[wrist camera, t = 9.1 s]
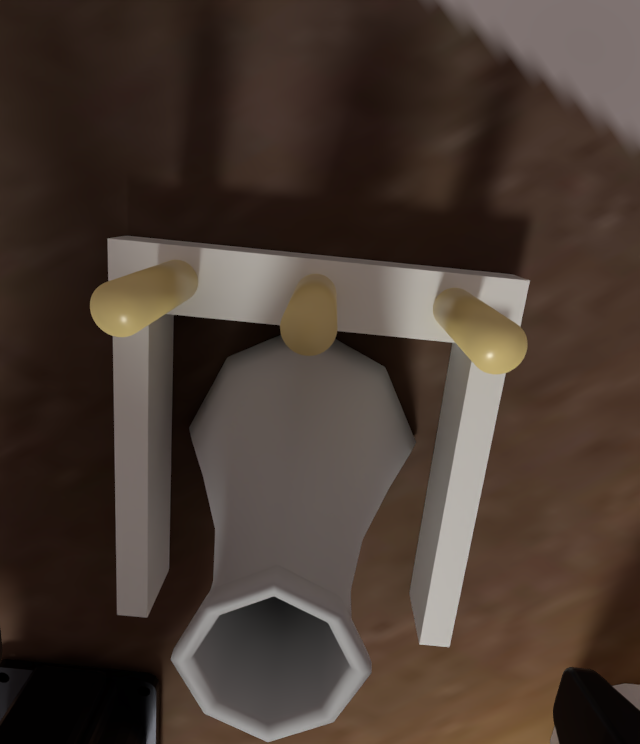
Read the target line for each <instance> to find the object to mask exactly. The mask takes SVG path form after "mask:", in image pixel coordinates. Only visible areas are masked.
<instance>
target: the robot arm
mask: <svg viewBox="0 0 640 744" xmlns="http://www.w3.org/2000/svg"><path fill="white" fill-rule="evenodd" d="M1 658H2V641H1V630H0V744H159V680H158V679H157V677H156V676H154V675H153V674H150V673H145V672H135V671H124V670H114V669H104V668H93V667H83V666H73V665H62V664H52V663H42V662H31V661H21V660H11V659H3V660H1ZM143 686H145V687H143ZM146 687H147V688H146ZM553 719H554V725H555V729H556V733H557V737H558V741H559V744H640V710H639V709H638V708H636V707H635V706H634V705H633V704H632V703H631V702H630V701H629V700H627V699H626V698H625V697H624V696H623V695H622V694H621V693H619V692H618V691H617V690H616V689H615V688H614V687H613V686H612V685H610V684H609V683H608V682H607V681H606V680H605V679H604V678H603V677H601V676H600V675H599V674H598V673H597V672H595V671H593V670H591V669H584V668H574V667H569V668H567V669H566V670H565V671H564V672H563V675H562V678H561V682H560V685H559V689H558V692H557V696H556V699H555V703H554V707H553Z"/></svg>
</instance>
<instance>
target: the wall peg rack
mask: <svg viewBox="0 0 640 744" xmlns="http://www.w3.org/2000/svg"><path fill="white" fill-rule="evenodd" d="M107 239H108V282H105V283H103V284H101V285H100V286H99V287H97V288H96V290H95V291H94V292H93V294H92V297H91V300H90V311H91V315H92V318H93V320H94V322H95V323H96V324H97V326H98V327H99V328H100V329H101V330H103V331H104V332H105V333H107V334H109V335H112V336H113V383H114V449H115V515H116V580H117V615H124V616H134V617H145V618H147V617H148V615H149V613H150V611H151V609H152V606H153V604H154V602H155V600H156V598H157V595H158V593H159V591H160V589H161V586H162V584H163V582H164V580H165V578H166V575H167V573H168V571H169V554H170V499H171V444H172V388H173V333H174V315H182V316H192V317H202V318H212V319H222V320H232V321H242V322H252V323H262V324H272V325H280V332H281V336H282V339H283V341H284V342H285V344H286V345H287V346H288V347H289V348H290V349H291V350H292V351H294V352H295V353H298V354H300V355H304V356H314V355H318V354H321V353H323V352H324V351H326V350H327V349H328V348H329V347H330V346H331V345H332V344H333V342H334V340H335V338H336V335H337V331H342V332H352V333H362V334H372V335H382V336H392V337H402V338H412V339H422V340H432V341H443V342H452V348H451V354H450V360H449V366H448V372H447V377H446V383H445V389H444V395H443V401H442V406H441V412H440V418H439V424H438V430H437V435H436V441H435V447H434V453H433V459H432V464H431V470H430V476H429V482H428V488H427V494H426V499H425V505H424V511H423V517H422V523H421V528H420V534H419V540H418V546H417V552H416V557H415V563H414V569H413V575H412V581H411V586H410V592H409V594H410V599H411V604H412V609H413V614H414V619H415V625H416V630H417V635H418V640H419V644H422V645H432V646H442V647H450V642H451V637H452V632H453V628H454V623H455V618H456V613H457V608H458V603H459V598H460V593H461V589H462V584H463V579H464V574H465V569H466V564H467V559H468V554H469V549H470V545H471V540H472V535H473V530H474V525H475V520H476V515H477V510H478V506H479V501H480V496H481V491H482V486H483V481H484V476H485V471H486V467H487V462H488V457H489V452H490V447H491V442H492V437H493V432H494V428H495V423H496V418H497V413H498V408H499V403H500V398H501V393H502V388H503V384H504V379H505V374H506V373H507V372H509V371H511V370H513V369H514V368H516V367H517V366H518V365H519V364H520V363H521V361H522V360H523V358H524V357H525V354H526V351H527V338H526V335H525V333H524V331H523V329H522V328H521V327H520V325H521V321H522V316H523V311H524V306H525V301H526V297H527V292H528V287H529V282H530V281H529V280H527V279H524V278H521V277H519V276H516V275H514V274H505V273H495V272H485V271H475V270H465V269H455V268H445V267H435V266H425V265H415V264H405V263H395V262H385V261H375V260H365V259H355V258H345V257H335V256H326V255H316V254H306V253H296V252H286V251H276V250H266V249H256V248H246V247H236V246H226V245H216V244H206V243H196V242H186V241H176V240H166V239H156V238H146V237H136V236H120V237H114V238H107Z"/></svg>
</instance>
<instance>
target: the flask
mask: <svg viewBox="0 0 640 744" xmlns="http://www.w3.org/2000/svg"><path fill="white" fill-rule="evenodd" d="M189 431H190V435H191V439H192V443H193V446H194V449H195V452H196V455H197V459H198V462H199V465H200V468H201V471H202V475H203V479H204V483H205V487H206V492H207V496H208V501H209V505H210V509H211V514H212V518H213V522H214V527H215V548H214V573H213V583H212V587H211V590H210V592H209V593H208V595H207V596H206V598H205V599H204V601H203V602H202V604H201V606H200V607H199V609H198V610H197V612H196V614H195V615H194V617H193V619H192V620H191V622H190V623H189V625H188V627H187V628H186V630H185V631H184V633H183V635H182V636H181V638H180V639H179V641H178V643H177V644H176V646H175V648H174V649H173V653H172V656H171V661H172V662H173V664H174V666H175V667H176V669H177V670H178V672H179V674H180V675H181V677H182V678H183V680H184V682H185V683H186V685H187V687H188V688H189V690H190V691H191V693H192V695H193V696H194V698H195V699H196V701H197V703H198V704H199V706H200V707H201V709H202V711H203V712H204V714H207V715H209V716H211V717H213V718H215V719H218V720H220V721H222V722H224V723H226V724H229V725H231V726H233V727H235V728H237V729H240V730H242V731H244V732H246V733H248V734H251V735H253V736H255V737H257V738H260V739H262V740H264V741H266V742H270V741H274V740H277V739H280V738H283V737H287V736H290V735H293V734H296V733H300V732H303V731H306V730H309V729H313V728H316V727H319V726H322V725H326V724H329V723H332V722H334V721H335V719H336V718H337V717H338V716H339V714H340V713H341V712H342V710H343V709H344V708H345V706H346V705H347V704H348V703H349V701H350V700H351V699H352V697H353V696H354V695H355V693H356V692H357V691H358V690H359V688H360V687H361V686H362V684H363V683H364V682H365V680H366V679H367V678H368V677H369V675H370V674H371V660H370V657H369V655H368V652H367V650H366V648H365V646H364V644H363V642H362V640H361V638H360V636H359V633H358V631H357V629H356V627H355V625H354V623H353V621H352V619H351V587H352V582H353V578H354V574H355V569H356V565H357V561H358V556H359V552H360V548H361V543H362V539H363V538H364V536H365V534H366V532H367V530H368V528H369V526H370V524H371V522H372V520H373V518H374V516H375V514H376V512H377V510H378V509H379V507H380V505H381V503H382V501H383V499H384V497H385V495H386V493H387V491H388V489H389V487H390V486H391V484H392V482H393V481H394V479H395V478H396V476H397V474H398V473H399V471H400V469H401V468H402V466H403V464H404V463H405V461H406V460H407V458H408V456H409V455H410V453H411V451H412V449H413V447H414V445H415V443H416V441H415V438H414V436H413V434H412V431H411V429H410V426H409V424H408V421H407V419H406V417H405V414H404V412H403V409H402V407H401V404H400V402H399V399H398V397H397V395H396V392H395V390H394V387H393V385H392V382H391V380H390V378H389V375H388V373H387V370H386V368H385V367H384V366H382V365H381V364H379V363H377V362H375V361H374V360H372V359H370V358H368V357H367V356H365V355H363V354H361V353H360V352H358V351H356V350H354V349H352V348H351V347H349V346H347V345H345V344H344V343H342V342H340V341H338V340H337V339H335V340H334V342H333V344H332V345H331V346H330V347H329V348H328V349H327V350H326V351H324V352H323V353H321V354H318V355H314V356H304V355H300V354H298V353H295V352H294V351H292V350H291V349H290V348H289V347H288V346H287V345H286V344H285V342H284V341H283V339H282V336H281V335H279V336H277V337H274V338H272V339H270V340H267V341H265V342H262V343H260V344H258V345H255V346H253V347H250V348H248V349H246V350H243V351H241V352H238V353H236V354H234V355H231V356H229V357H227V359H226V361H225V362H224V364H223V366H222V368H221V370H220V372H219V373H218V375H217V377H216V379H215V381H214V383H213V384H212V386H211V388H210V390H209V392H208V394H207V395H206V397H205V399H204V401H203V403H202V405H201V406H200V408H199V410H198V412H197V414H196V416H195V417H194V419H193V421H192V423H191V425H190V427H189Z"/></svg>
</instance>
